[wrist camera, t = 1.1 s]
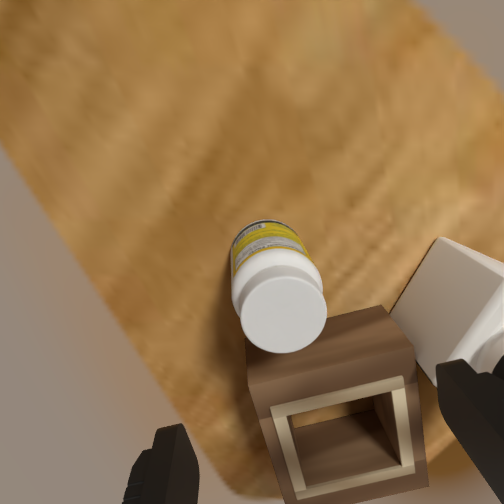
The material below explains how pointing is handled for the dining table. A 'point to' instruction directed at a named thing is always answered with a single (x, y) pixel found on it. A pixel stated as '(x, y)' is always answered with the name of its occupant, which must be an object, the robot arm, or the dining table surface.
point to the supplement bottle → (276, 288)
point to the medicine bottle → (455, 309)
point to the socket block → (349, 427)
